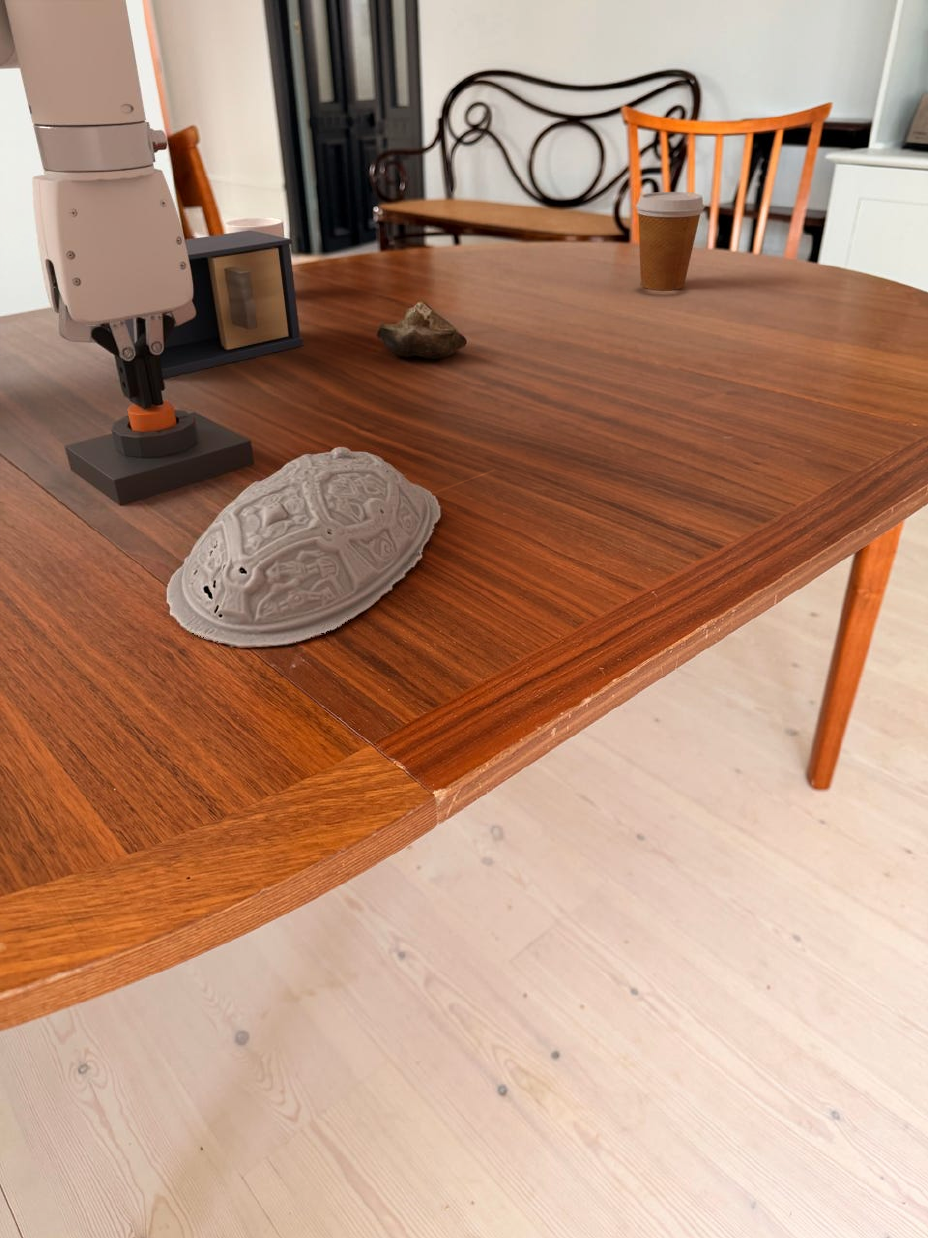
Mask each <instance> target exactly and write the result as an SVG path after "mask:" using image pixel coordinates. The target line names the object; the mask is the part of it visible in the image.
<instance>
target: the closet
mask: <svg viewBox="0 0 928 1238" xmlns="http://www.w3.org/2000/svg"><path fill="white" fill-rule="evenodd" d="M184 241H185V245H186V249H187V254H188V259H189V263H190V269H191V274H192V281H193V299H192V302H193V305H194V307H195V310H196V316H195V317H194V318H193V319H191V320H189V321H187V322H185V323H183V324H181V325H179V326H175V327H174V328H173V330H172V331H171V333H170V334H169V336H168V338H167V339H166V341H165V342H164V350H163V352H162V353H161V354H160V355H159V358H160V363H161V369H162V374H163V379H167V378H171V377H175V376H179V375H183V374H184V375H185V374H188V373H193V372H197V371H202V370H205V369H210V368H214V367H218V366H224V365H226V364H231V363H235V362H241V361H244V360H249V359H253V358H257V357H262V356H265V355H271V354H275V353H279V352H283V351H287V350H293V349H295V348H300V347H303V346H304V341H303V337H301V332H300V323H299V315H298V306H297V298H296V297H297V296H296V288H295V281H294V271H293V270H294V269H293V262H292V252H291V245H292V244H293V242H292V238H288V237H284V238H283V237H279V236H274V235H270V234H265V233H261V232H256V231H251V230H249V231H242V232H235V233H228V234H227V233H222V234H215V235H208V236H200V237H193V238H185V239H184ZM272 247H276V248H278V251H279V260H280V268H281V276H282V285H283V293H284V301H285V310H286V318H287V326H288V335H289V336H288V337H283V338H279V339H274V340H270V341H265V342H261V343H257V344H252V345H248V346H243V347H239V348H234V349H230V350H227V349H224V344H223V337H222V331H221V325H220V318H219V312H218V306H217V299H216V293H215V287H214V281H213V274H212V268H211V262H210V257H215V256H221V255H227V254H234V253H240V252H246V251H253V250H259V249H266V248H272ZM125 323H126V326H127V329H128V332H129V334H130V337H131V340H132V343H133V346H134V344H135V340H134V322H133V318H132V319H127V320H125ZM134 349H135V346H134Z"/></svg>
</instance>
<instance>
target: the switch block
mask: <svg viewBox="0 0 928 1238" xmlns="http://www.w3.org/2000/svg"><path fill="white" fill-rule="evenodd" d="M174 413H175V418H176V423H177V424H176V425H174V426H173V427H170V428H166V429H163V430H159V431H148V432H140V431H133V430H132V428H131V424H130V419H129V415H128V414H127V415H125V416H123V417H122V418H120V419H118V420H116V421H115V422H113V425H112V427H111V433H108V434H106V435H102V436H97V437H94V438H90V439H87V440H82V441H78V442H73V443H70V444H66V445H64V451H65V453H66V457H67V461H68V465H69V468H70V471H71V472H73V473H75V474H76V475H77V476H78V477H80V478H81V479H83V480H84V481H86V482H87V483H88V484H90V485H91V486H92V487H94V488H95V489H96V490H98V491H99V492H101V493H102V494H103V495H104V496H106V497H107V498H108V499H110V500H112V501H113V502H114V503H116V504H117V505H118V506H120V507H121V506H124V505H128V504H131V503H135V502H138V501H141V500H144V499H147V498H150V497H153V496H158V495H160V494H163V493H166V492H170V491H173V490H176V489H180V488H183V487H186V486H189V485H192V484H195V483H199V482H202V481H206V480H209V479H212V478H215V477H219V476H221V475H226V474H229V473H231V472H235V471H238V470H242V469H245V468H248V467H251V466H254V465H255V459H254V454H253V453H254V452H253V446H252V445H253V444H252V441H251V440H250V439H248V438H246V437H245V436H243V435H240V434H239V433H236V432H234V431H233V430H232V429H229V428H227V427H225V426H223V425H221V424H219V423H217V422H215V421H213V420H212V419H209V418H207V417H206V416H203V415H201V414H200V413H197V412H195V411H193V412H190V413H189V412H187V411H186V410H181V409H179V410H178V409H174Z"/></svg>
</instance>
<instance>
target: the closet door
mask: <svg viewBox="0 0 928 1238" xmlns="http://www.w3.org/2000/svg"><path fill="white" fill-rule="evenodd" d="M210 262H211V268H212V274H213V281H214V287H215V293H216V299H217V306H218V312H219V318H220V325H221V331H222V337H223V344H224V349H227V350H230V349H234V348H239V347H243V346H248V345H252V344H257V343H261V342H265V341H270V340H274V339H279V338H283V337H288V336H289V335H288V326H287V318H286V310H285V301H284V293H283V285H282V276H281V268H280V260H279V251H278V248H276V247H272V248H266V249H259V250H253V251H246V252H240V253H234V254H227V255H221V256H215V257H210Z"/></svg>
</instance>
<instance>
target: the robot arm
mask: <svg viewBox="0 0 928 1238" xmlns="http://www.w3.org/2000/svg"><path fill="white" fill-rule="evenodd" d="M3 69H4V70H5V69H6V70H7V69H19V70H20V75H21V79H22V84H23V88H24V92H25V93H24V94H25V96H26V101H27V106H28V110H29V114H30V118H31V123H32V124H33V125H32V127H33V131H34V135H35V139H36V143H37V148H38V152H39V157H40V162H41V165H42V171H43V174H40V175H35V176H32V203H33V204H32V205H33V215H34V222H35V233H36V238H37V239H36V240H37V247H38V254H39V261H40V265H41V270H42V277H43V282H44V287H45V291H46V295H47V299H48V302H49V305H50V307H51V309H52V310H53V311H54V312H55V313H57V314H58V334H59V336H60V337H61V338H62V339H65V340H67V341H69V342H72V343H90V344H91V343H92V344H93V343H96V344H97V345H99V346H100V347H101V348H103V349H104V350H106V351H107V352H109V354H112V355H113V357H114V361H115V365H116V370H117V374H118V380H119V383H120V388H121V392H122V393H123V396H124V397H125V398H127V399H128V400H129V401H130V403H132V404H136V405H138V406H139V407H141V408H143V409H147V408H150V407H151V406H152V405H155V406H159V405H163V400H164V399H163V393H162V392H163V391H165V389H166V388H165V387H166V386H165V385H166V384H165V378H163V374H162V369H161V363H160V358H159V355H160V354H161V353H162V352H163V350H164V342H165V341H166V339H167V338H168V336H169V334H170V333H171V331H172V330H173V328H174V327H175V326H179V325H181V324H183V323H185V322H187V321H189V320H191V319H193V318H194V317H195V316H196V310H195V307H194V305H193V302H192V299H193V281H192V274H191V269H190V263H189V259H188V254H187V249H186V245H185V241H184V240H185V238H184V233H183V229H182V225H181V222H180V218H179V214H178V212H177V208H176V205H175V202H174V199H173V196H172V193H171V190H170V187H169V185H168V182H167V179H166V177H165V174H164V172H163V170H161V169H158V168H155V166H154V165H155V164H154V163H156V155H155V154H156V153H158V152H159V151H166V150H167V148H168V139H167V136H166V133H165V131H164V130H162V129H154V128H151V126H150V125H151V124H150V122H149V121H147V118H146V112H145V106H144V100H143V94H142V89H141V82H140V76H139V71H138V70H139V69H138V65H137V59H136V53H135V47H134V42H133V36H132V30H131V24H130V18H129V13H128V6H127V0H0V70H3ZM132 318H133V322H134V340H135V344H134V346H135V349H134V346H133V343H132V340H131V337H130V334H129V332H128V329H127V326H126V323H125V320H127V319H132Z"/></svg>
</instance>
